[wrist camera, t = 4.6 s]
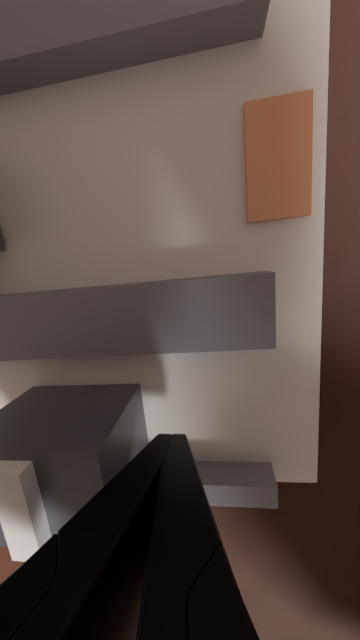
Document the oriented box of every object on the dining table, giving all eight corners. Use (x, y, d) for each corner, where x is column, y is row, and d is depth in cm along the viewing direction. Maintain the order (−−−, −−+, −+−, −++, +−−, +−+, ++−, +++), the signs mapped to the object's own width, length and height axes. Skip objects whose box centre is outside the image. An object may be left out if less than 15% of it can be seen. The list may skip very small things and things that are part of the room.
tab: (140, 383, 8) (89, 469, 5) (150, 454, 9) (110, 576, 6) (32, 386, 9) (-81, 464, 6) (49, 453, 10) (-44, 562, 6)
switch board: (315, -342, 5) (382, -734, 3) (304, 456, 10) (330, 511, 8) (-238, -107, 8) (-409, -246, 6) (-49, 450, 12) (-105, 491, 10)
